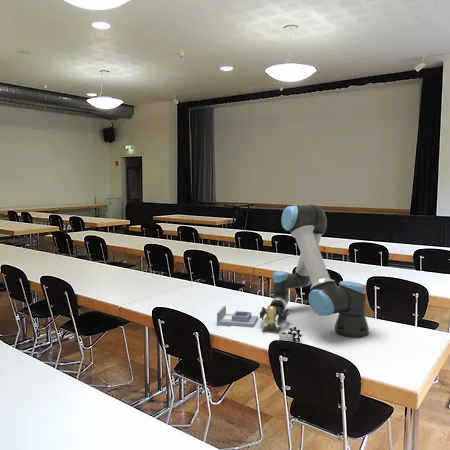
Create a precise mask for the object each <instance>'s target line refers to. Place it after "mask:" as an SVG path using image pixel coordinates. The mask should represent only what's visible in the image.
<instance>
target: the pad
mask: <svg viewBox="0 0 450 450" xmlns="http://www.w3.org/2000/svg"><path fill="white" fill-rule="evenodd" d="M281 329H282V327H279V326H276V330H275V331H268V330H267V326H266V325H265V326H264V327H263V328H262V330H261V333H268V334H269V333H270V334H279V333H281Z"/></svg>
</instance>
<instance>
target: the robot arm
mask: <svg viewBox="0 0 450 450" xmlns="http://www.w3.org/2000/svg"><path fill="white" fill-rule="evenodd" d="M281 215H282V216H281V226H282V228H283V229H284V231H288V232H289V233H290V236H291V237H292V238H294V239H295V241H296V243H297V246H298V248H299V251H300V254H299V257H298V261H297V264H296V268H295V272H294V273H290V274H288V272H286V271H285V270H278V271H275V272H273V274H272V275H273V276H272V288H273V289H272V291H273V292H272V301H271V302H270V304H269V306H276V319H275V325H276V326H278V323H279V322H281V321H282V320H283V321H286V319H287V317H288V315H290V308H287V305H288V303H289V296H288V292H289V290H290V289H296V288H304V287H308V286H310V285H311V286H310V288H309V289H310V290H309V291H310V292H309V294H308V303H309V305H310V306H309V307H310V309H311V310H312V311H313V312H314V314H317V315H318V316H323V317H324V316H331V315H335V314H337V315H338V316H337V318H336V321H335V324H334V332H335V333H336V334H338V335H340V336H343V337H348V338H362V337H367V336H368V335H369V333H370V332H369V330H370V328H369V324H368V322H367V318H366V299H367V298H366V297H367V296H366V295H367V291H366V286H365V285H364V284H362V283H360V282H355V281H349V280H348V281H347V280H342V281H340V282H339V283H338V285H337V283H336V280H334V279H331V277H330V274H329V271H328V268H327V265H326V263H325V261H324V258H323V255H322V253H321V250H320V248H319V244H320V241H321V238H322V235H324V234H325V233H326V230H327V225H328V224H327V223H328V219H327V216H326V213H325V211H324V210H323V208H322V207H320V206H319V205H317V204H304V205H298V204H297V205H296V204H295V205H289V206H287V207H285V208H284V210H283V211H282V214H281ZM286 308H287V309H286ZM259 319H261V320H262V325H265V324H266V323H267V307H264V306H262V307H261V311H260V312H259Z"/></svg>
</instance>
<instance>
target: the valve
mask: <svg viewBox="0 0 450 450" xmlns="http://www.w3.org/2000/svg"><path fill="white" fill-rule="evenodd" d="M300 332H301V330H300V329H297V326H294V327H290V328H289V329H288V332H286V331H280V332H279V333H278V341H279V340H286V341H290V342H291V341H292V340H293V342H300V341H301V338H302V337H303V335H302V334H300Z"/></svg>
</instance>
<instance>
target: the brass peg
mask: <svg viewBox="0 0 450 450" xmlns="http://www.w3.org/2000/svg"><path fill="white" fill-rule="evenodd" d="M266 309H267V321H266V324H267V330H268V331H275V330H276V327H277V325H275V319H276V306H270V305H268V306H267V307H266Z"/></svg>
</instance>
